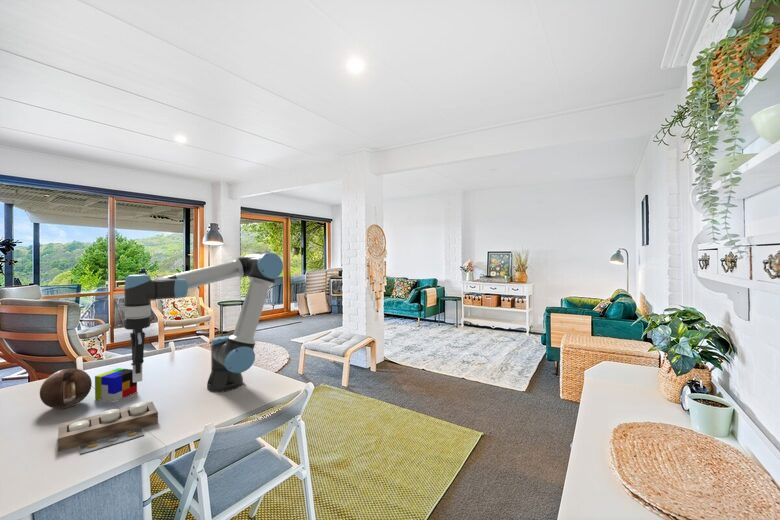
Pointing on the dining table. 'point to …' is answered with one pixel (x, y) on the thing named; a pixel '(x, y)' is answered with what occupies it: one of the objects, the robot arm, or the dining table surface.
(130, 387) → the puzzle toy
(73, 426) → the left button
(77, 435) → the button board
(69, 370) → the wooden sphere
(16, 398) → the dining table surface
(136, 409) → the right button
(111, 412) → the middle button
